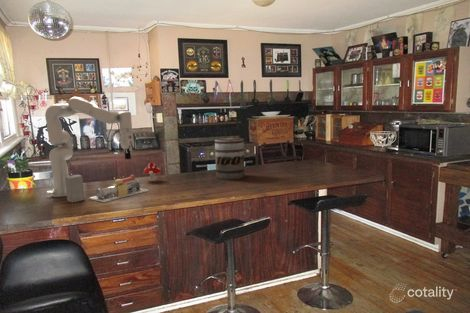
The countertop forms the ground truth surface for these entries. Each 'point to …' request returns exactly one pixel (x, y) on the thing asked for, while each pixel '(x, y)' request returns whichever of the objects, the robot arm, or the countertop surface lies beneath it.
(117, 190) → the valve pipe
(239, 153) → the barrel
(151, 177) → the decorative mushroom
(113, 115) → the robot arm
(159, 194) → the countertop surface
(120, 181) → the lever
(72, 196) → the skincare box
